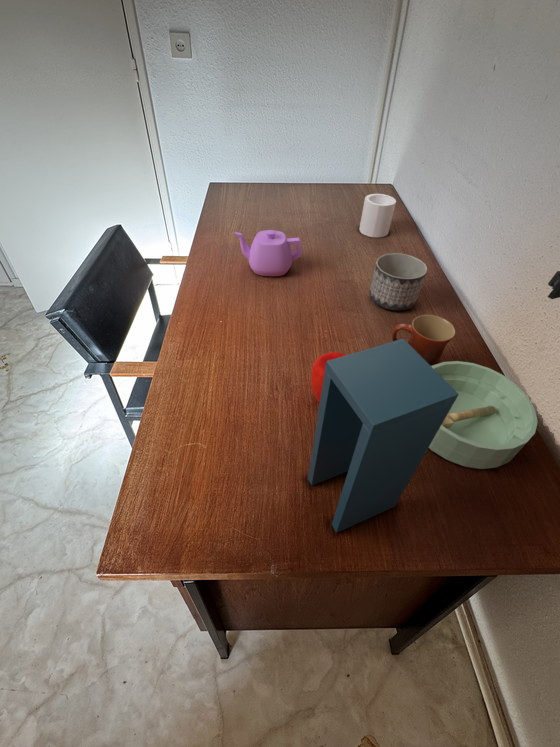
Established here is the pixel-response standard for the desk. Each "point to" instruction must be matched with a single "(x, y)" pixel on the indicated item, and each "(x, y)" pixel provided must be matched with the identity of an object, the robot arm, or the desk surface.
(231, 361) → the desk surface
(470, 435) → the bowl
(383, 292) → the planter
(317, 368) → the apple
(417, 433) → the teal arch block
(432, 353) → the mug
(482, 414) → the wooden mallet
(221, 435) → the desk surface
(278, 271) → the teapot
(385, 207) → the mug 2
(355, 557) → the desk surface
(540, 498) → the desk surface
